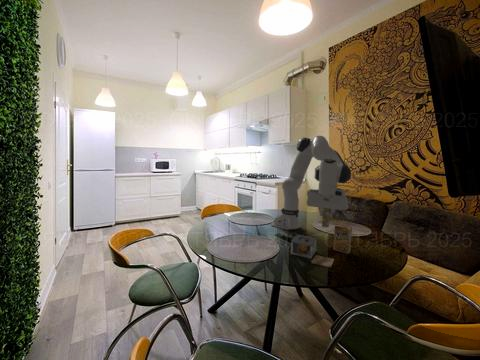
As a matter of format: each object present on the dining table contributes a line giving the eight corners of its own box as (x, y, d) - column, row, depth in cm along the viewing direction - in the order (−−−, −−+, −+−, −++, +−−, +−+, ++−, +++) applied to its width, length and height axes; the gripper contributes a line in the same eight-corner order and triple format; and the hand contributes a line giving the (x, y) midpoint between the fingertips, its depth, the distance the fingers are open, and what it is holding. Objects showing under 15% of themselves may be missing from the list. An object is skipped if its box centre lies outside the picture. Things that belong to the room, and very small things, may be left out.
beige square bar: (322, 226, 122) (323, 196, 120) (323, 225, 125) (324, 195, 123) (328, 227, 121) (329, 197, 119) (329, 225, 123) (330, 196, 121)
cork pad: (311, 262, 123) (311, 261, 123) (315, 255, 132) (315, 254, 132) (330, 267, 118) (330, 266, 118) (334, 260, 127) (334, 259, 127)
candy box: (332, 250, 140) (334, 225, 138) (335, 247, 143) (336, 224, 141) (348, 254, 134) (350, 229, 132) (350, 252, 138) (352, 227, 136)
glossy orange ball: (299, 250, 135) (299, 245, 135) (301, 247, 139) (301, 242, 139) (306, 252, 133) (306, 247, 133) (308, 249, 137) (308, 244, 137)
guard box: (290, 253, 134) (291, 240, 133) (296, 246, 145) (297, 234, 144) (311, 258, 128) (312, 245, 127) (316, 250, 138) (317, 238, 137)
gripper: (305, 189, 123) (304, 214, 125) (347, 193, 113) (346, 220, 114) (308, 188, 128) (307, 212, 130) (349, 191, 118) (347, 217, 120)
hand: (326, 216), depth 122 cm, fingers closed on beige square bar, 3 cm apart
